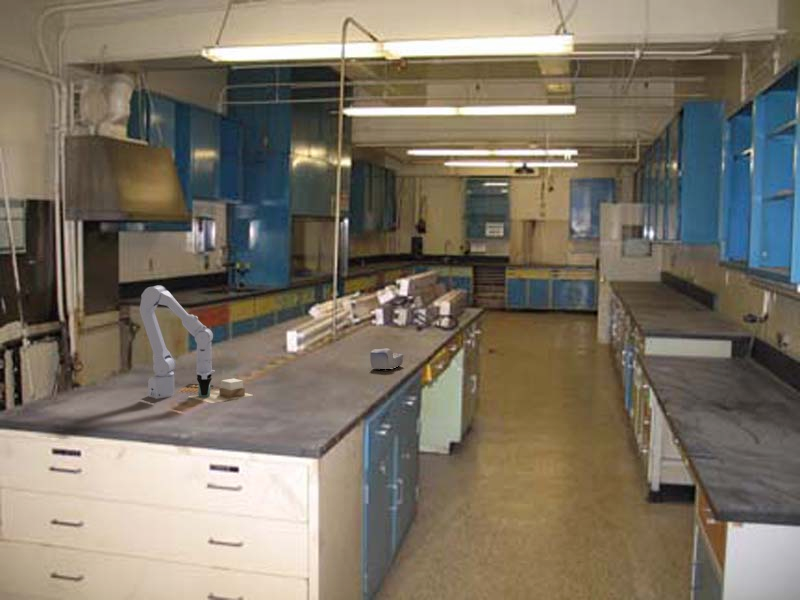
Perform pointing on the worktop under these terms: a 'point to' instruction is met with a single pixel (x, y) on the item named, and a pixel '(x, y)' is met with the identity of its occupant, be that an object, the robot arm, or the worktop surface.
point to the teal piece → (203, 395)
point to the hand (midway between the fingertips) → (204, 393)
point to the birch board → (216, 397)
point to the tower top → (231, 384)
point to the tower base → (232, 392)
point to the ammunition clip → (191, 388)
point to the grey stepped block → (385, 359)
